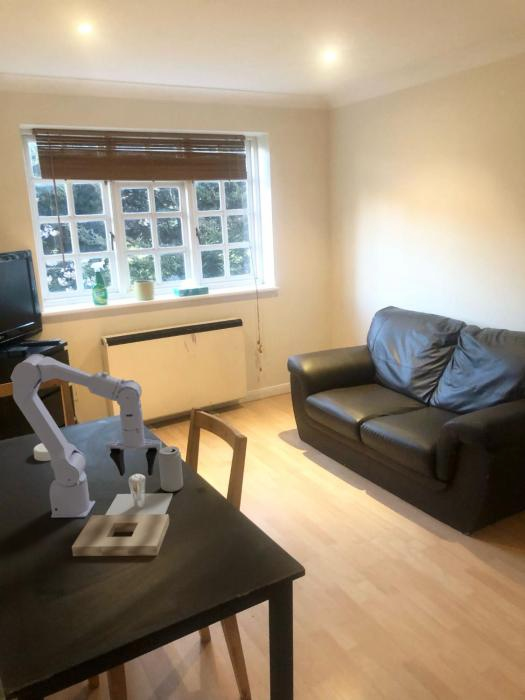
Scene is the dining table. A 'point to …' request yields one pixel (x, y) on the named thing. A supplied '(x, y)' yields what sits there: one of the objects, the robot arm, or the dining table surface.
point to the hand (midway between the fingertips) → (136, 474)
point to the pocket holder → (142, 542)
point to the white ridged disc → (41, 453)
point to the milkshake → (138, 490)
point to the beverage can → (170, 469)
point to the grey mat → (153, 506)
